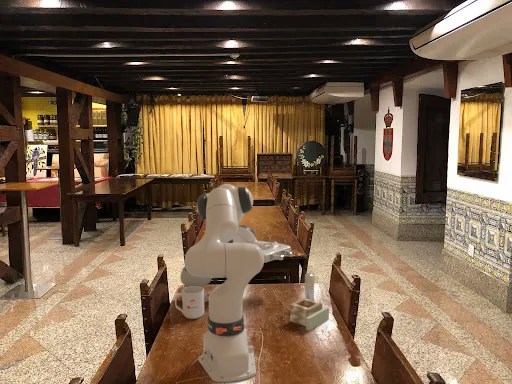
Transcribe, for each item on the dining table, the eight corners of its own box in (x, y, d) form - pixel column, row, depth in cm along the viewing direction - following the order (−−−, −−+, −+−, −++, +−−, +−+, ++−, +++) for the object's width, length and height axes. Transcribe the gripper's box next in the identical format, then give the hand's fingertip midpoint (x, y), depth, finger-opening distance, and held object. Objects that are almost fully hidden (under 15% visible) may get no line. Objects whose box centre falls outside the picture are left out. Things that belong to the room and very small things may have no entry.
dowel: (315, 307, 190) (315, 275, 188) (306, 308, 189) (306, 276, 187) (311, 303, 194) (312, 272, 192) (303, 304, 193) (303, 273, 191)
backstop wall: (305, 330, 167) (305, 317, 167) (325, 318, 178) (325, 306, 177) (309, 331, 166) (309, 318, 166) (328, 319, 177) (329, 307, 176)
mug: (204, 310, 187) (203, 285, 186) (204, 319, 178) (204, 292, 177) (175, 312, 185) (174, 286, 184) (174, 321, 177) (173, 294, 175)
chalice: (208, 292, 208) (207, 262, 206) (215, 303, 195) (214, 270, 193) (179, 296, 204) (178, 265, 202) (183, 307, 191) (182, 273, 189)
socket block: (290, 321, 175) (290, 304, 174) (303, 314, 182) (303, 297, 181) (309, 327, 169) (309, 310, 168) (321, 319, 176) (322, 303, 175)
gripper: (248, 249, 197) (272, 254, 188) (276, 240, 213) (300, 245, 204) (248, 262, 198) (272, 268, 189) (276, 253, 213) (300, 258, 204)
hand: (287, 256), depth 196 cm, fingers open, 5 cm apart
